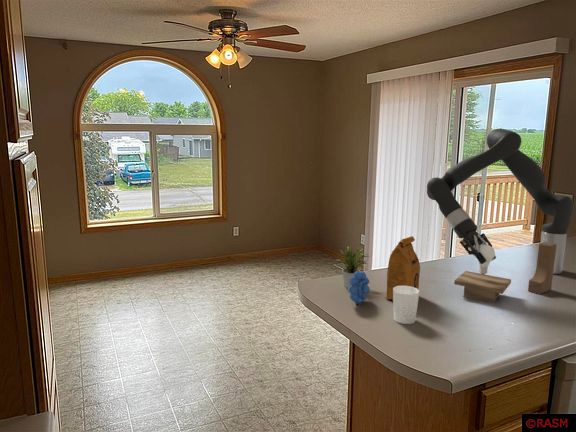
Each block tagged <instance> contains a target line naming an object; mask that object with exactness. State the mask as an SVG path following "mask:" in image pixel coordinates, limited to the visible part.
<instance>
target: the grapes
mask: <svg viewBox="0 0 576 432" xmlns="http://www.w3.org/2000/svg"><path fill="white" fill-rule="evenodd" d="M360 271H361V270H360ZM350 283H351V284H352V285H351V286H349V287H348V288H347V290H348V293H349V299H350V301H352V302H354V303H355V304H357V305H359V304H361V303H362V302H363V301H366V299H367V297H368V296H367V294H368V293H370V291H371V288H370V286H369V283H370V280H369V278H368V277H367V273H366V272H364V271H361V272H359V271H356V272H355V273H354V277H351V278H350Z"/></svg>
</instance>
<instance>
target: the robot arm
mask: <svg viewBox="0 0 576 432" xmlns="http://www.w3.org/2000/svg"><path fill="white" fill-rule="evenodd" d="M486 144H487V145H486V146H487V147H488V149H486V150H485V151H483V152H481V153H478V154H476V155H473V156H469V157H467V158H465V159H462V160H461V161H459V162H458V163H456V164H454V165H453V166H452V167H450V168H449V169H448V170H447V171H446V172H445V173H444V175H443V176H442V177H441V178H440V177H433V178H431V179H430V180H429V181H428V182H427V184H426V194H427V197H428V198H429V199H430V200H432V201H435V202H436V204H437V205H438V209H439V211H440V212H441V213H442V215H443V216H444V218H445V220H446V221H447V223H448V224H449V226H450V227H451V228H452V230H453V232H454V233H455V234H456V236H457V237H458V239H461V240H460V241H459V243H460V244H461V246H462V248H463V249H464V250H465V252H467V254H468V255H469V256H471V255H473V257H475V258H476V260H477V261H478V263H479V262H480V263H481V264H483V263H485V262H486V259H485V258H484V256H483V255H482V254H481V252H480V251H479V248H478V247H479V246H480V245H483V244H486V245H490V246H491V247H492V248H493V245H492V243H491V242H490V240H489V239H488V237H487V236H486V234H485V233H484V232H482V233H478V232H477V230H478V225H477V224H476V223H475V221H473V219H472V217H470V215H469V213H468V212H467V211H466V210H465V209H464V208H463V206H461V204H460V203H459V202H458V200H457V199H456V198H455V196H454V194H453V192H452V191H453V190H454V189H455V188H456V187H458V185H460V184H462V183H464V182H465V181H467V180H468V179H469V178H471V177H472V176H473V175H475V174H476V173H478V172H480V171H482V170H484V169H486V168H488V167H490V166H492V165H494V164H495V163H498V162H499V161H502V162H503V163H504V165H505V166H506V167H507V168H508V170H509V171H510V172H511V173H512V174H513V175H514V177H515V178H516V180H517V181H518V182H519V183H520V185H521V186H522V187H523V188H525V190H526V191H527V192H528V194H529V195H530V197H531V198H532V199H533V200H534V202H535V204H536V205H537V207H538V208H539V210H540V212H542V214H544V215H546V216H551V217H553V220H552V222H547V223H543V225H541V226H542V227H541V235H540V243H543V242H548V243H553V244H556V245H557V246H556V254H555V262H554V270H553V275H554V274H557V275H558V274H562V273H563V266H564V260H565V259H564V258H565V251H566V246H567V245H566V243H567V236H568V235H567V234H568V230H569V228H570V226H571V220H572V216H573V215H572V214H573V210H574V201H573V199H572V198H571V197H570V196H568V195H561V194H554V193H552V192H551V191H549V189H548V188H547V186H546V181H547V176H546V173H545V172H544V170H543V169H542V168H541V167H540V166H539V164H538V163H537V162H536V161H535V160H533V159H532V158H531V157H529V156H528V155H527V154H525V153H523V152H522V151H521V150H520V147H521V145H522V137H521V135H520V134H519V133H517V132H515V131H512V130H507V129H504V128H496V129H495V128H494V129H493V130H491V131H490V132H489V133H488V134H487V137H486ZM495 259H497V256H496V255H495V256H494V258H493V259H492V260H491V262H492V261H494V260H495Z"/></svg>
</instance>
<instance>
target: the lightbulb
mask: <svg viewBox="0 0 576 432" xmlns="http://www.w3.org/2000/svg"><path fill="white" fill-rule="evenodd" d="M486 244H487V243H486ZM486 244H483V245H480V246H479V247H478V248H479V251H480V252H481V254H482V255H483V256H484V258H485V259H486V262H485V263H483V264H481V263H480V262H479V261H478V265H479V271H478V273H480V274H485V275H487V274H488V268H489V266H490V263H491V262H492V261H493V260H492V259H493V258H494V256H496V255H495V254H496V252H495V249H494V247H493V246H492V247H491V246H490V245H488V244H487V245H486ZM491 260H492V261H491Z"/></svg>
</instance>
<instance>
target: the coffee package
mask: <svg viewBox="0 0 576 432" xmlns="http://www.w3.org/2000/svg"><path fill="white" fill-rule="evenodd" d="M415 241H416V239H415V238H414V236H412V235H411V236H409V237H405V238H401V240H400V241H399V242H398V244H397V245H396V246H395V247H394V249H393V250H392V251H391V254H390V255H389V259H388V265H387V272H386V299H387V300H392V301H393V288H394V287H396V286H411V287H414V288H417V289H418V290H419V291H420V288H419V287H420V274H421V265H420V259H419V257H418V255H417V253H416V252H415V250H414V246H413V242H415Z"/></svg>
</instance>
